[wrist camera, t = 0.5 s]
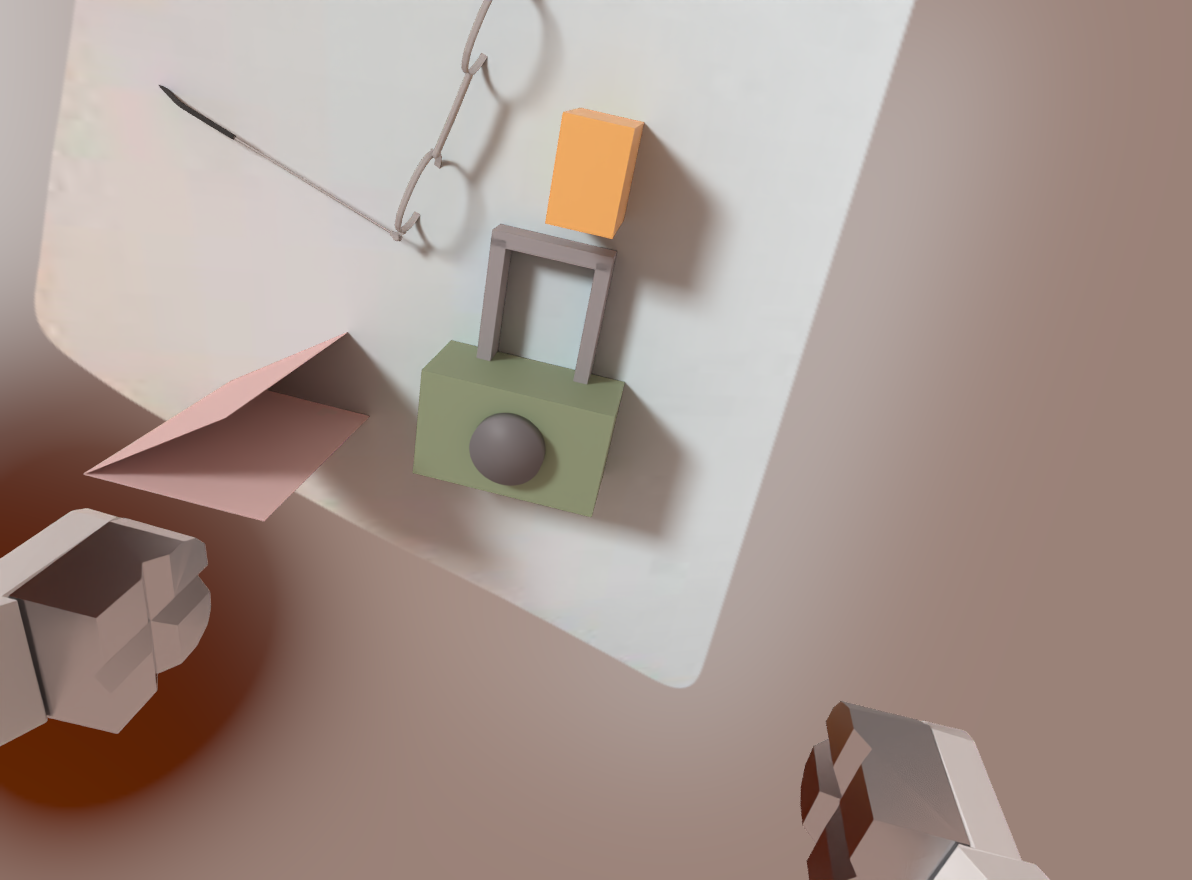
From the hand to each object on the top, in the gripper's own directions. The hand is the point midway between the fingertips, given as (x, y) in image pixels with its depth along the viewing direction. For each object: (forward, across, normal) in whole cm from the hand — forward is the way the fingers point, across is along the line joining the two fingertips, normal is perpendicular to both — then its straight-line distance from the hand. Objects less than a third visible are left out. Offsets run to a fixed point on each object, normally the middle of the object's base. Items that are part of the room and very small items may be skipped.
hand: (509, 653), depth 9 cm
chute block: (+41, +5, 0) cm, 42 cm away
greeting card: (+41, +25, +18) cm, 52 cm away
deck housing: (+41, +7, +14) cm, 44 cm away
